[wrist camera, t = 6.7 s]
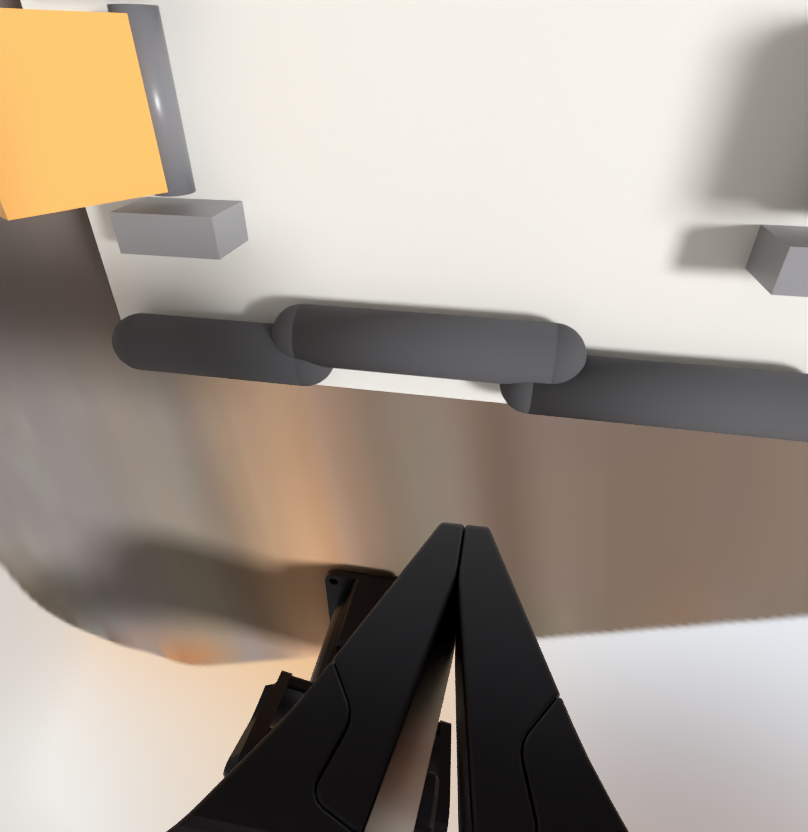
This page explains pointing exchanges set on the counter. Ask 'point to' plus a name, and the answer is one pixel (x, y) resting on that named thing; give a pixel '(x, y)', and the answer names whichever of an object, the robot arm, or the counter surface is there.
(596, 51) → the white tray
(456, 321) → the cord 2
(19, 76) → the orange brick
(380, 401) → the counter surface
